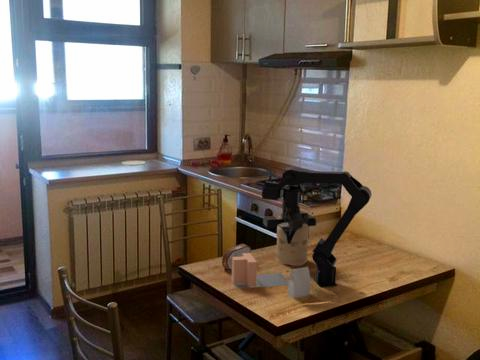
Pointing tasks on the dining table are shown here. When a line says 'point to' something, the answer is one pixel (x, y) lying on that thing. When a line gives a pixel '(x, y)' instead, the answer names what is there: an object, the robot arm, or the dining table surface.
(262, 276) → the board
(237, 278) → the t block
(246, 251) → the tin
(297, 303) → the dining table surface
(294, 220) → the robot arm
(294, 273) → the grey upright block
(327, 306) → the dining table surface
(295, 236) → the container
